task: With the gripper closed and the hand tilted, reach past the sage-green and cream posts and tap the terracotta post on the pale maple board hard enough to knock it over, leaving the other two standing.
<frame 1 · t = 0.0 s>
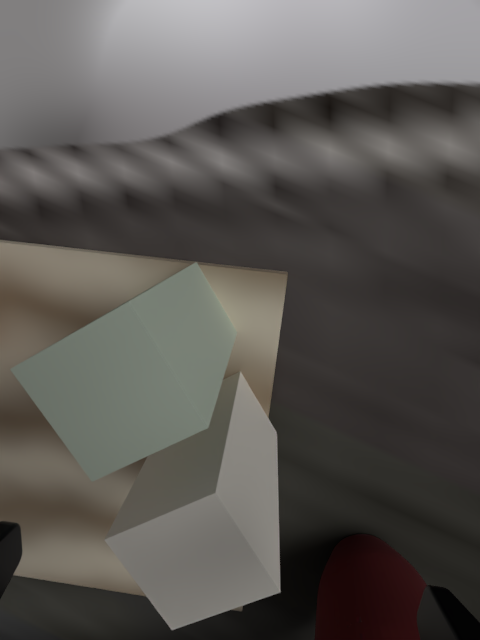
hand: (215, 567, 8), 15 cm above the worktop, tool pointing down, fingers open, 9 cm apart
mug: (355, 568, 26), on the worktop
sage block: (183, 316, 21), point 1 cm above the worktop, touching maple board
cream block: (226, 418, 23), point 1 cm above the worktop, touching maple board
maple board: (89, 432, 25), on the worktop
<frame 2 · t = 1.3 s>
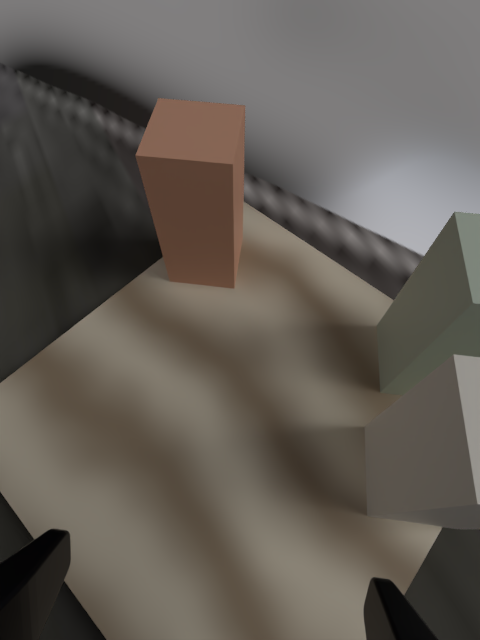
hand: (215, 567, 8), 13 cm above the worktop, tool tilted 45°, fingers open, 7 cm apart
sage block: (415, 362, 23), point 1 cm above the worktop, touching maple board
terracotta block: (207, 259, 27), point 1 cm above the worktop, touching maple board
cream block: (408, 474, 20), point 1 cm above the worktop, touching maple board
maple board: (244, 408, 23), on the worktop
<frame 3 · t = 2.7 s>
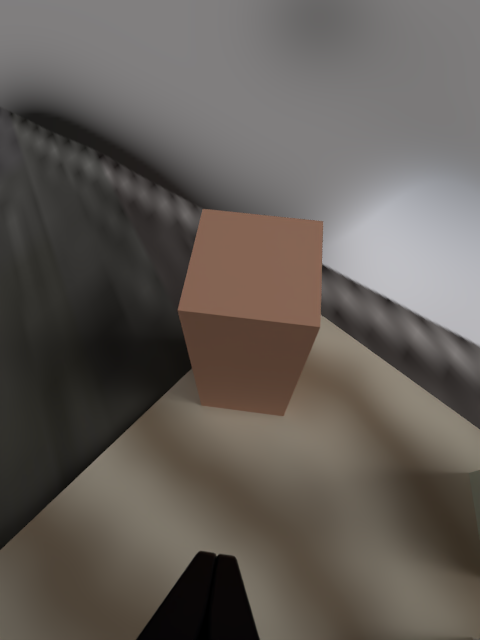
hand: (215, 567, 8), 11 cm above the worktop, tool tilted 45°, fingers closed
terracotta block: (247, 372, 22), point 1 cm above the worktop, touching maple board
maple board: (305, 595, 17), on the worktop
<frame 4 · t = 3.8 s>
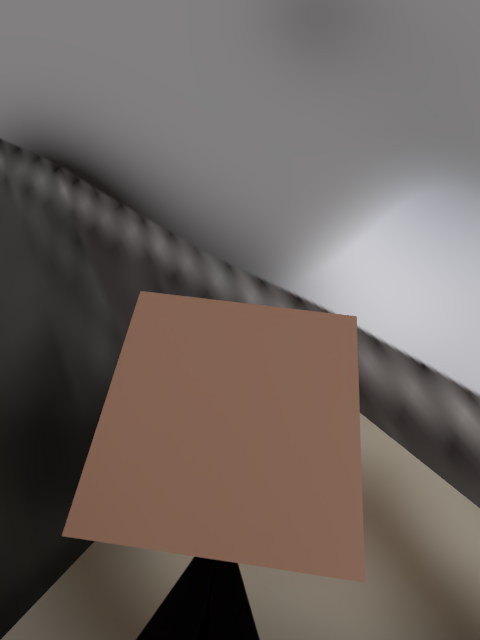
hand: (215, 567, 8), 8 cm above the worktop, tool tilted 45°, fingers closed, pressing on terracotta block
terracotta block: (232, 484, 15), point 1 cm above the worktop, touching gripper, maple board
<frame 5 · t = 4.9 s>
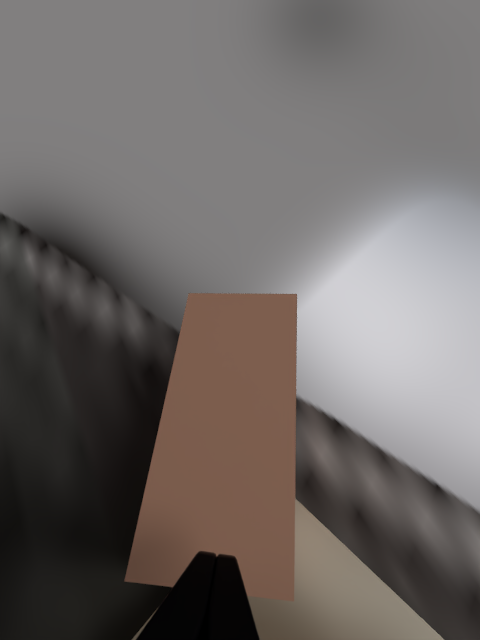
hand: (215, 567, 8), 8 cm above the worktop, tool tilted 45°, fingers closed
terracotta block: (219, 591, 12), point 3 cm above the worktop, tilted 96°, touching maple board
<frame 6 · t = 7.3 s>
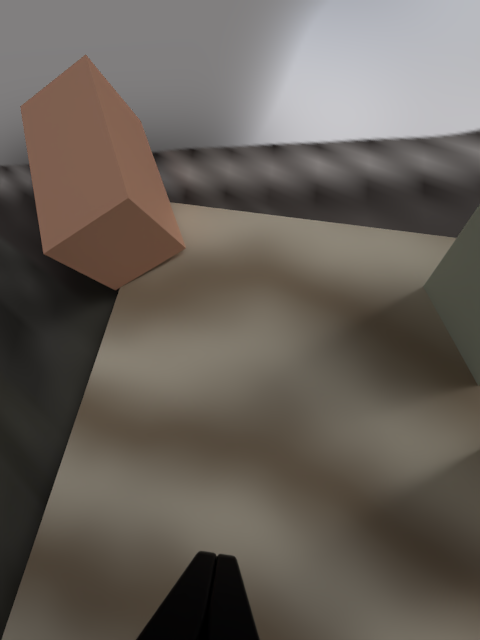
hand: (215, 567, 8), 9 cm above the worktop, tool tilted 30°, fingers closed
terracotta block: (120, 250, 17), point 3 cm above the worktop, tilted 96°, touching maple board
maple board: (309, 489, 16), on the worktop
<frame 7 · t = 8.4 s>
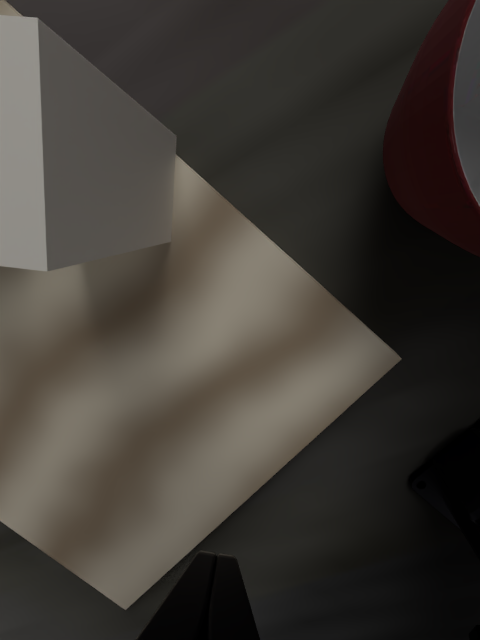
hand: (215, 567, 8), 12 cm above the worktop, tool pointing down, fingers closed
mug: (456, 176, 17), on the worktop
cream block: (124, 185, 17), point 1 cm above the worktop, touching maple board
maple board: (80, 357, 21), on the worktop
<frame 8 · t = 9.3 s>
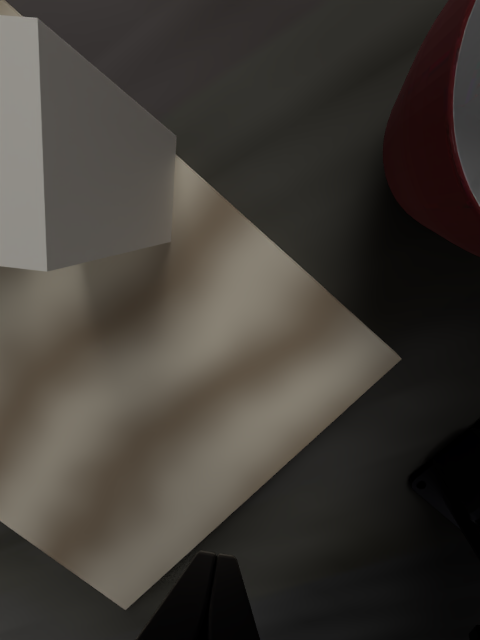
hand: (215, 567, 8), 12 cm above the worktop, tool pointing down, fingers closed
mug: (456, 176, 17), on the worktop
cream block: (124, 185, 17), point 1 cm above the worktop, touching maple board
maple board: (80, 358, 21), on the worktop
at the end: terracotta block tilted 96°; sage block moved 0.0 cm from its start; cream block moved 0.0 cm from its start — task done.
